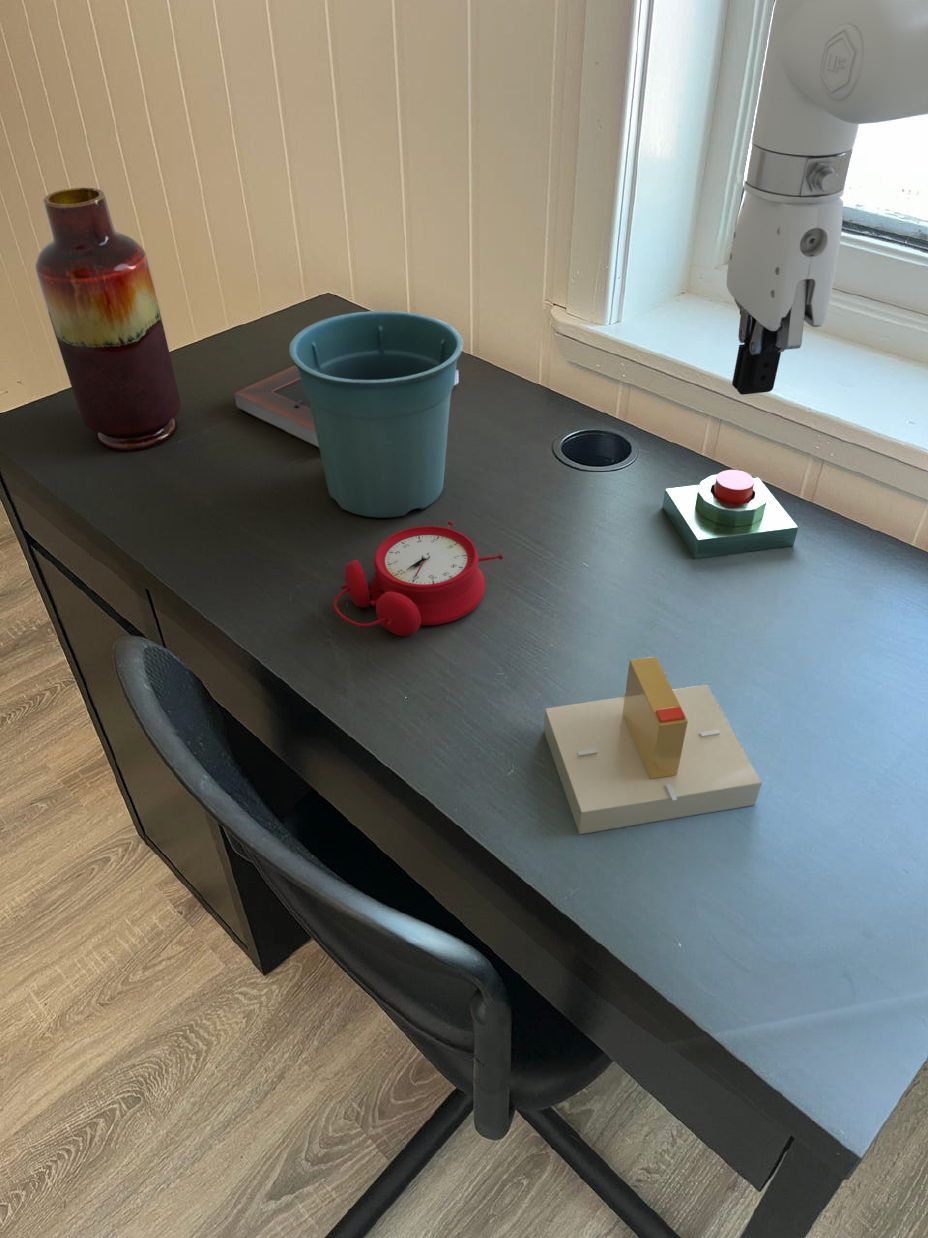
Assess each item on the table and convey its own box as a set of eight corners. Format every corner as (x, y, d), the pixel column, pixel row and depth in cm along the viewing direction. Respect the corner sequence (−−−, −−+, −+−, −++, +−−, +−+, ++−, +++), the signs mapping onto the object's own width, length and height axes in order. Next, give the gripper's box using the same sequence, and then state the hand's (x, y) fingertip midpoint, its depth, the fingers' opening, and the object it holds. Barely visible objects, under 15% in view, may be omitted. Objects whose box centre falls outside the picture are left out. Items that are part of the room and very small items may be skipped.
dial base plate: (701, 703, 75) (706, 679, 73) (757, 809, 67) (764, 785, 65) (542, 727, 73) (543, 703, 72) (580, 839, 65) (583, 815, 64)
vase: (168, 400, 116) (113, 172, 99) (199, 438, 108) (146, 200, 91) (77, 425, 111) (3, 191, 94) (103, 466, 104) (28, 221, 87)
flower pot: (395, 432, 109) (385, 295, 98) (497, 486, 100) (498, 341, 89) (278, 488, 100) (254, 343, 90) (378, 552, 91) (364, 400, 81)
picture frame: (366, 350, 126) (237, 410, 113) (365, 332, 124) (233, 390, 112) (459, 386, 117) (330, 455, 105) (458, 367, 116) (327, 435, 103)
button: (742, 483, 93) (745, 467, 92) (757, 502, 90) (761, 487, 89) (707, 487, 92) (710, 471, 91) (721, 507, 90) (724, 491, 88)
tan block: (622, 713, 71) (629, 657, 67) (647, 709, 71) (656, 653, 67) (650, 779, 66) (659, 722, 62) (677, 775, 66) (688, 718, 62)
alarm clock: (518, 555, 84) (385, 596, 75) (506, 614, 87) (377, 660, 78) (443, 507, 90) (311, 539, 81) (434, 564, 93) (306, 601, 84)
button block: (754, 495, 98) (762, 462, 95) (793, 545, 91) (802, 511, 88) (662, 507, 96) (667, 473, 94) (694, 558, 89) (701, 523, 87)
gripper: (893, 195, 67) (830, 425, 79) (798, 140, 78) (756, 349, 90) (794, 203, 66) (746, 435, 78) (712, 146, 77) (681, 356, 89)
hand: (751, 388), depth 84 cm, fingers closed
